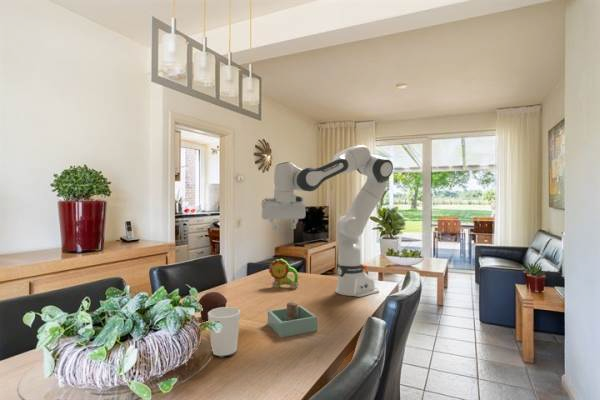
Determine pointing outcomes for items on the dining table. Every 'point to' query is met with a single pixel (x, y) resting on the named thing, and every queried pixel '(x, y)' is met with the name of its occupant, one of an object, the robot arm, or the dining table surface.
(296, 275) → the toy lion
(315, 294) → the dining table surface
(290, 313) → the walnut peg
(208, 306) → the muffin
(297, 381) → the dining table surface
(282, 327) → the bin
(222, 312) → the cup
